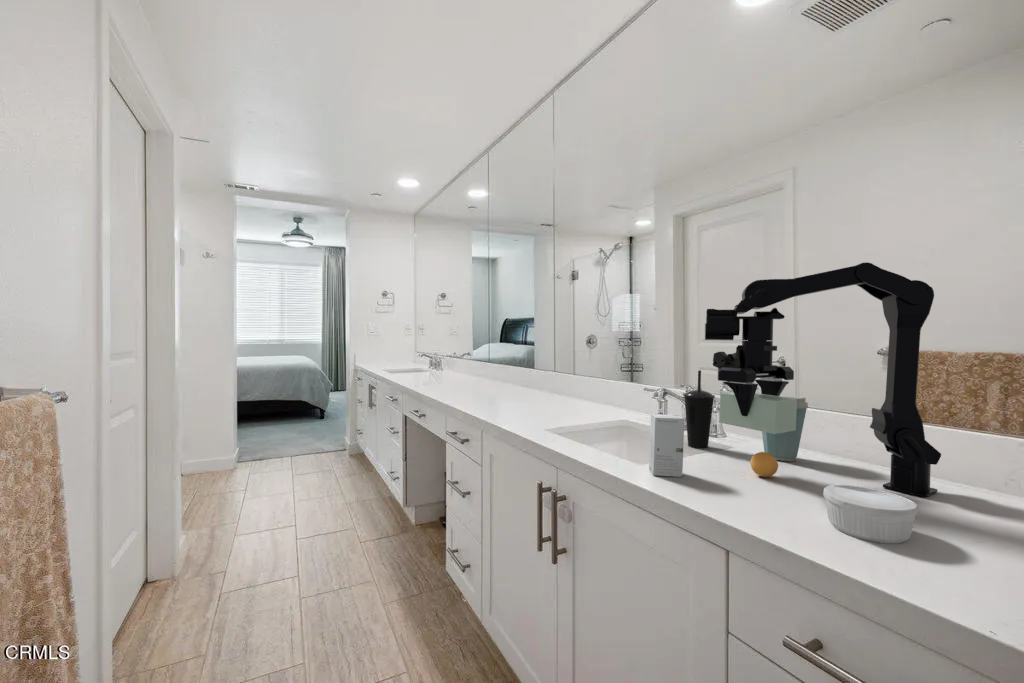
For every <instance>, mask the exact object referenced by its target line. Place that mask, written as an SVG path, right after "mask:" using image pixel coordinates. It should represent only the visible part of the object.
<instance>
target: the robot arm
mask: <svg viewBox="0 0 1024 683" xmlns="http://www.w3.org/2000/svg"><path fill="white" fill-rule="evenodd" d="M851 286H857V287H859V288H861V289H862V290H863V291H865V292H866V293H868V294H869V295H870V296H872V297H873V298H875V299H877V300H880V301H881V303H882V304H881V305H882V310H883V315H884V319H885V321H886V323H887V325H888V328H889V336H888V352H887V353H888V354H887V367H886V368H887V369H886V382H885V399H884V402H883V403H882V405H881V407H880V409H879V408H876V407H875V408H874V407H872V408H871V417H872V420H871V424H870V425H869V428H870V429H872V430H873V434H874V436H875V438H876V439H877V440H879V441H880V442H881V443H882V444H883V445H884V448H885V450H886V452H887V453H891V455H890V478H889V479H890V480H889V482H886V483H883V484H882V488H885V489H888V490H893V491H898V492H902V493H906V494H910V495H913V496H917V497H918V496H919V497H922V498H927V497H930V496H932V495H933V494H936V493H937V492H938V491H939V490H938V489H937V488H935V487H931V467H932V466H931V465H934V466H935V465H938V464H939V461H940V460H941V457H942V453H941V452H940V451H939V450H937V449H936V448H935V447H934V446H933V445H932V444H931V443H929V442H928V441H927V440H926V437H925V436H926V435H925V429H924V422H923V419H922V416H921V414H920V412H919V410H918V406H917V390H918V377H919V376H918V375H919V374H918V373H919V361H920V360H919V359H920V344H921V341H920V340H921V332H922V327H923V326H924V323H925V322H926V321H927V320H928V317H929V315H930V313H931V309H932V306H933V302H934V299H935V291H934V289H933V287H932V286H930V285H929V284H928V283H927V282H925V281H923V280H917V279H913V280H912V279H909V278H908V277H905V276H903V275H900V274H898V273H895V272H892V271H889V270H886V269H884V268H881V267H879V266H878V265H875V264H873V263H872V262H867V261H866V262H861V263H858V264H856V265H851V266H847V267H842V268H838V269H834V270H829V271H823V272H817V273H813V274H810V275H804V276H800V277H795V278H774V279H773V278H771V279H768V278H767V279H757V280H754V281H752V282H750V283H749V284H748V285H747V286H746V287H745V288H744V289H743V291H742V294H741V300H740V301H739V303H737V304H736V305H734V308H733V309H716V308H706V315H705V316H706V317H705V318H706V319H705V323H704V340H705V341H734V339H735V338H734V337H736V336H737V337H739V336H740V332H741V331H742V332H741V333H742V335H741V339H742V340H741V344H738V345H737V346H736V351H735V352H733V353H728V354H727V353H726V352H725V351H717V352H714V353H713V358H712V366H713V367H715V368H717V369H718V371H717V381H718V382H719V381H721V382H722V381H723V382H722V383H723V384H724V385H727V386H728V387H729V389H731V391H732V392H734V394H735V397H736V400H737V403H738V406H739V409H740V412H741V415H742V416H748V414H749V411H750V408H751V405H752V402H753V399H754V395H755V393H757V392H756V391H757V388H758V386H759V387H760V392H761V393H760V394H766V395H773V396H780V395H781V394H782V392H783V391H784V389H785V387H786V386H787V385H789V382H790V381H793V380H794V379H795V372H794V370H793V369H792V368H791V367H790V366H786V365H785V366H784V365H782V366H781V365H775V364H774V365H773V354H774V353H773V352H776V351H778V345H773V342H774V340H773V339H774V338H773V337H774V320H783V319H785V317H786V316H785V315H784V314H783V313H781V312H780V311H779V310H778V308H777V307H773V308H771V310H769V311H766V310H765V311H754V312H753V316H752V315H751V316H750V315H749V316H741V315H743V314H745V313H747V312H749V311H750V310H760V309H761V310H762V309H764V308H766V307H770V306H772V305H775V304H777V303H780V302H783V301H786V300H788V299H791V298H794V297H800V296H807V295H810V294H815V293H819V292H826V291H831V290H836V289H840V288H847V287H851ZM738 315H740V316H738ZM741 320H742V326H741ZM740 326H741V327H740ZM740 328H742V330H741V329H740Z"/></svg>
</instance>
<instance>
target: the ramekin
mask: <svg viewBox="0 0 1024 683" xmlns="http://www.w3.org/2000/svg"><path fill="white" fill-rule="evenodd" d="M823 497H824V498H825V500H824V501H825V507H826V513H827V519H828V521H829V523H830V524H831V525H832V526H833V527H834V528H835V529H837V530H838V531H840V532H842V533H844V534H846V535H849V536H852V537H855V538H857V539H861V540H864V541H869V542H875V543H879V542H880V543H881V544H890V543H891V544H894V543H895V544H901V543H905V542H906V541H907V540H909V539H910V537H911V535H912V533H913V528H914V524H915V519H916V515H918V513H919V506H918V504H917V503H916V502H915V501H912V500H911V499H908V498H907V497H904V496H900V495H899V494H895V493H892V492H888V491H883V490H880V489H875V488H870V487H866V486H858V485H850V484H849V485H847V484H846V485H845V484H831V485H828V486H825V487H824V488H823Z"/></svg>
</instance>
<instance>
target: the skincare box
mask: <svg viewBox="0 0 1024 683" xmlns="http://www.w3.org/2000/svg"><path fill="white" fill-rule="evenodd" d="M649 429H650V431H649V457H648V458H649V461H648V463H649V464H648V470H649V472H650V473H651V475H652V476H653V477H654V476H655V477H656V476H661V477H676V478H677V477H678V478H680V477H681V478H682V477H683V470H684V469H683V468H684V466H683V465H684V443H685V442H684V440H685V439H684V437H685V436H684V435H685V418H684V417H682V416H680V415H677V414H658V413H657V414H656V413H650V428H649Z"/></svg>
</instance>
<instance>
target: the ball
mask: <svg viewBox="0 0 1024 683" xmlns="http://www.w3.org/2000/svg"><path fill="white" fill-rule="evenodd" d="M750 467H751V469H752V471H753V473H755V474H756V475H757V476H759V477H763V478H769V477H772V476H774V475H776V473H777V472H778V469H779V463H778V460H776V459H775V457H774V456H772V455H771V454H769V453H766V452H764V451H759V452H756V453H755V454H754V455H752V456H751V459H750Z"/></svg>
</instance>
